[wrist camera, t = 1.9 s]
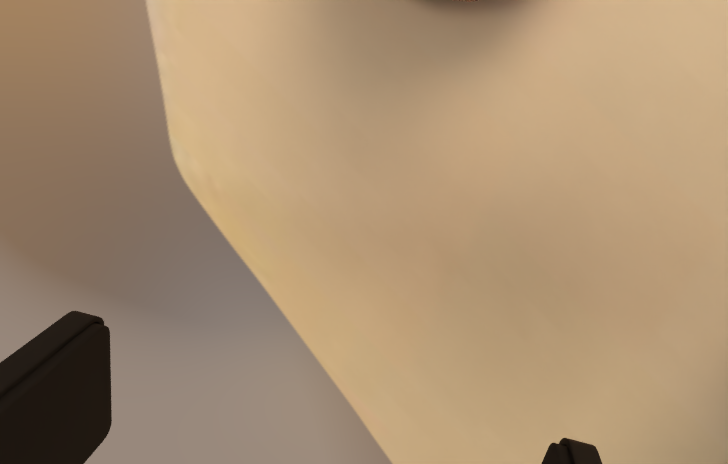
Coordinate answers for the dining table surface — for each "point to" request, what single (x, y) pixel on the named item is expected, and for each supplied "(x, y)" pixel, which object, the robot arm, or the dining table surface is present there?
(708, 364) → the dining table surface
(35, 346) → the robot arm
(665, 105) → the dining table surface
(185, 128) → the dining table surface
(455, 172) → the dining table surface
